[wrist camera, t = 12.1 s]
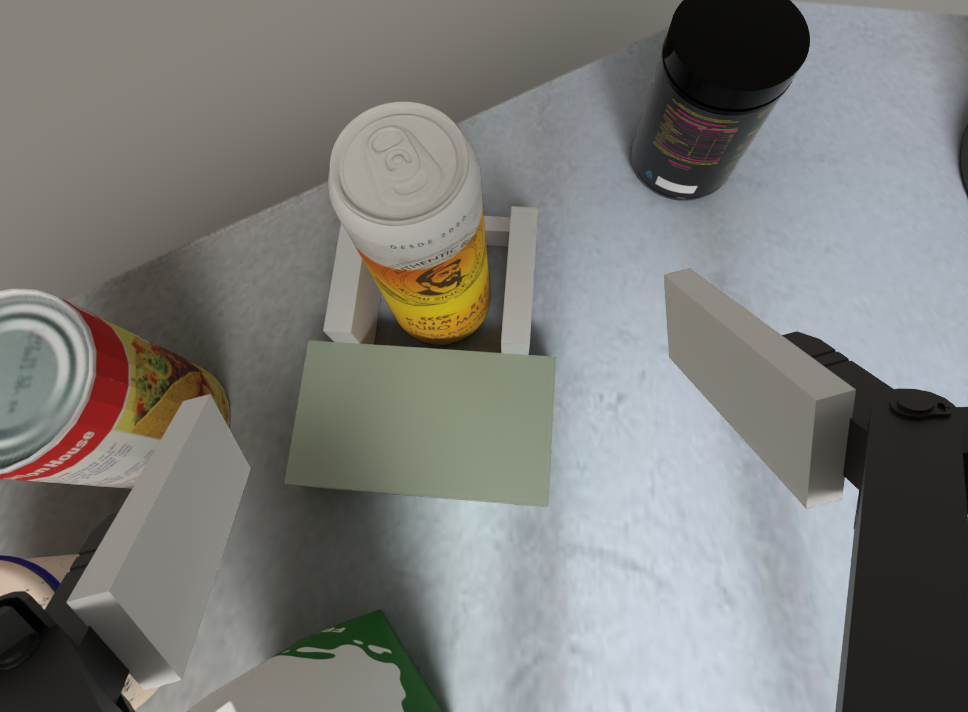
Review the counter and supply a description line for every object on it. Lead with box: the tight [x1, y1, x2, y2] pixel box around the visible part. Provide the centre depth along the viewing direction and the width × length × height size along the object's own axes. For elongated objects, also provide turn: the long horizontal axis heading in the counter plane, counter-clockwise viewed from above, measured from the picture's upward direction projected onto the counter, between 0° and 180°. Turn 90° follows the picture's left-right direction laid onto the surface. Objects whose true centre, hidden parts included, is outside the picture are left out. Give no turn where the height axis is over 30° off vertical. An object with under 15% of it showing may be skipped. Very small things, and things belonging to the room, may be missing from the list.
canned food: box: [0, 288, 230, 489], centre depth 29 cm, size 8×8×12 cm
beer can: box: [328, 101, 490, 345], centre depth 29 cm, size 6×6×15 cm
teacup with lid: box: [0, 554, 159, 710], centre depth 26 cm, size 12×9×12 cm
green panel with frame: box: [284, 206, 556, 507], centre depth 33 cm, size 14×17×5 cm
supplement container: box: [631, 0, 810, 200], centre depth 33 cm, size 7×7×10 cm
